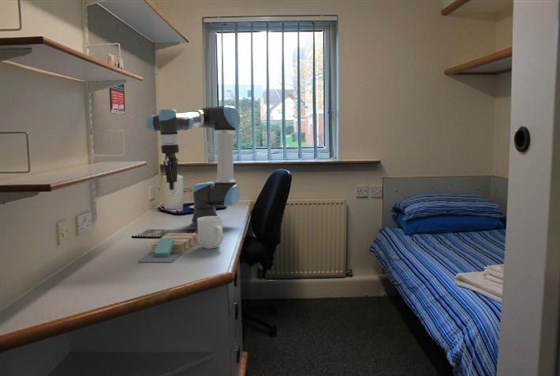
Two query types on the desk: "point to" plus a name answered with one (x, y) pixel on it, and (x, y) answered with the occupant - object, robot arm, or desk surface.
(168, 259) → the mat
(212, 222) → the mug
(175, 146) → the robot arm
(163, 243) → the teal rectangular block
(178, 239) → the board
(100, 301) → the desk surface
